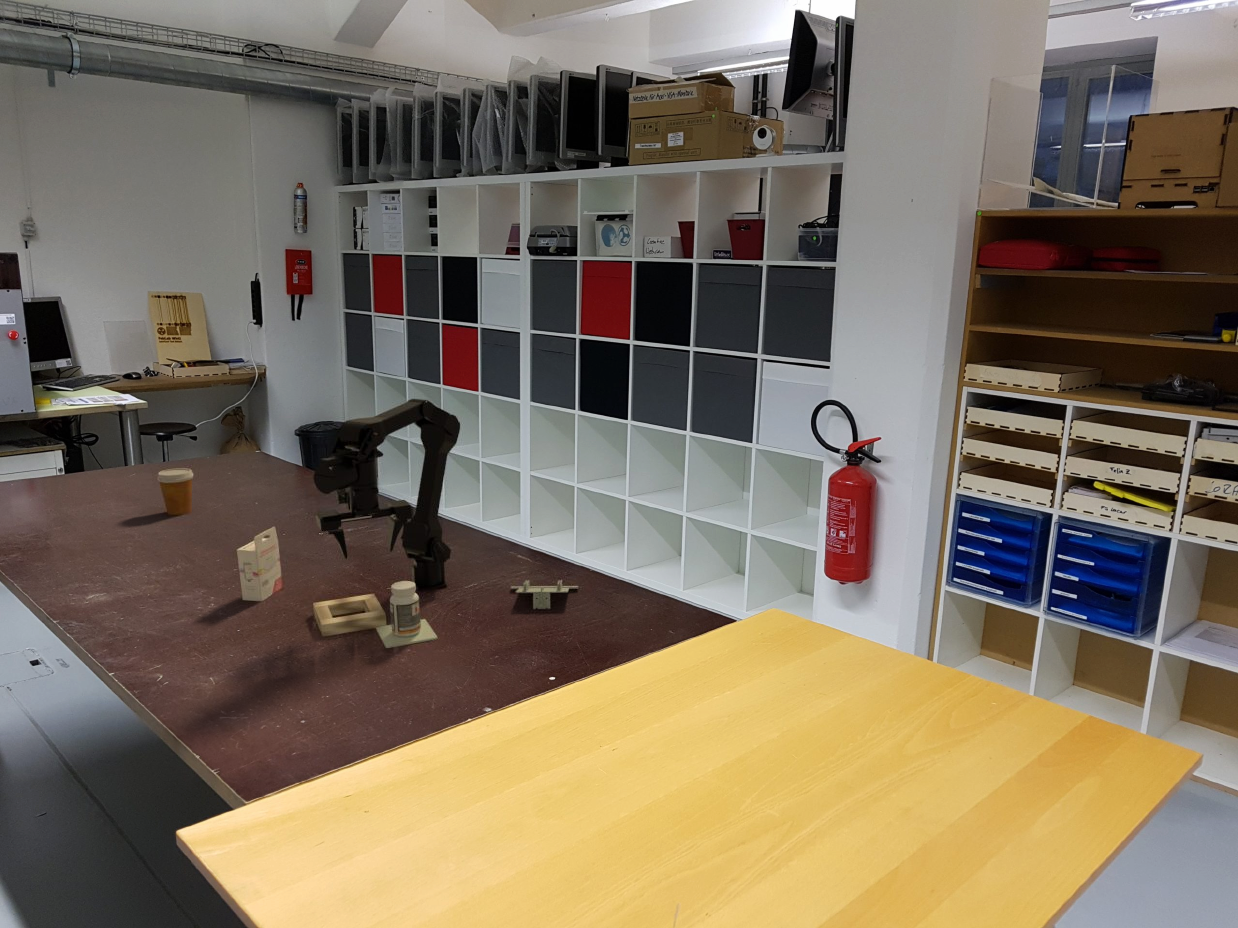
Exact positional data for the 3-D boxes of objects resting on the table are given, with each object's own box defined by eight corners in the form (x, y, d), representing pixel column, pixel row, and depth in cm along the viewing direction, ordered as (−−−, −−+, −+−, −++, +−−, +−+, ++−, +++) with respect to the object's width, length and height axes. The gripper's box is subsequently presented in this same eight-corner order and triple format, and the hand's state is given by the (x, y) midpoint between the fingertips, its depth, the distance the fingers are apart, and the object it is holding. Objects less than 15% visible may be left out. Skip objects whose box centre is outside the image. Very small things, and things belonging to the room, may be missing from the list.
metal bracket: (576, 583, 197) (505, 583, 197) (576, 610, 197) (505, 611, 196) (578, 578, 211) (512, 578, 211) (578, 603, 211) (512, 604, 211)
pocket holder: (374, 604, 200) (373, 593, 199) (386, 625, 189) (385, 614, 188) (313, 614, 195) (313, 602, 194) (322, 636, 184) (321, 624, 183)
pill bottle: (426, 628, 186) (423, 581, 184) (411, 639, 181) (408, 591, 179) (401, 624, 188) (398, 578, 186) (385, 635, 183) (382, 588, 181)
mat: (425, 620, 191) (425, 618, 191) (437, 638, 182) (437, 637, 182) (375, 628, 187) (375, 627, 187) (386, 648, 178) (386, 646, 178)
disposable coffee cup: (204, 510, 269) (200, 470, 266) (173, 518, 261) (169, 477, 258) (184, 505, 274) (180, 466, 271) (154, 513, 266) (149, 472, 263)
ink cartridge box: (263, 586, 210) (257, 524, 207) (283, 588, 209) (277, 525, 206) (240, 600, 202) (234, 535, 199) (261, 602, 201) (255, 537, 198)
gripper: (398, 467, 200) (402, 536, 204) (308, 478, 191) (314, 550, 195) (412, 479, 190) (416, 551, 194) (318, 491, 182) (324, 566, 186)
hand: (368, 554), depth 193 cm, fingers open, 9 cm apart
